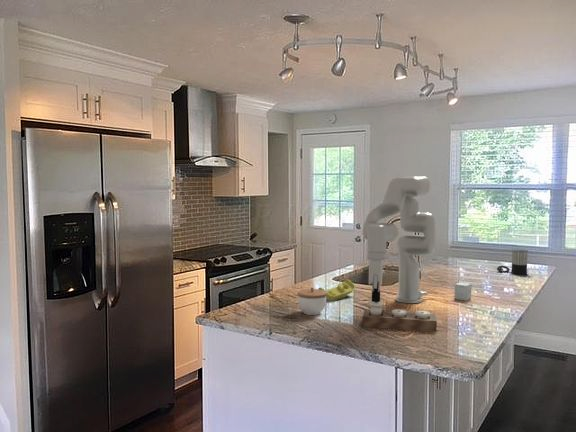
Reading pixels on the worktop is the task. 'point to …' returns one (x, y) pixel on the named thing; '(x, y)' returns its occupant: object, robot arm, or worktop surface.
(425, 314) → the knob
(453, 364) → the worktop surface
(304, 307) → the lidded bowl
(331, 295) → the plastic component
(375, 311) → the knob
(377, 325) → the mount
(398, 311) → the knob
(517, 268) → the milk frother
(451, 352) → the worktop surface
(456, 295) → the product box
